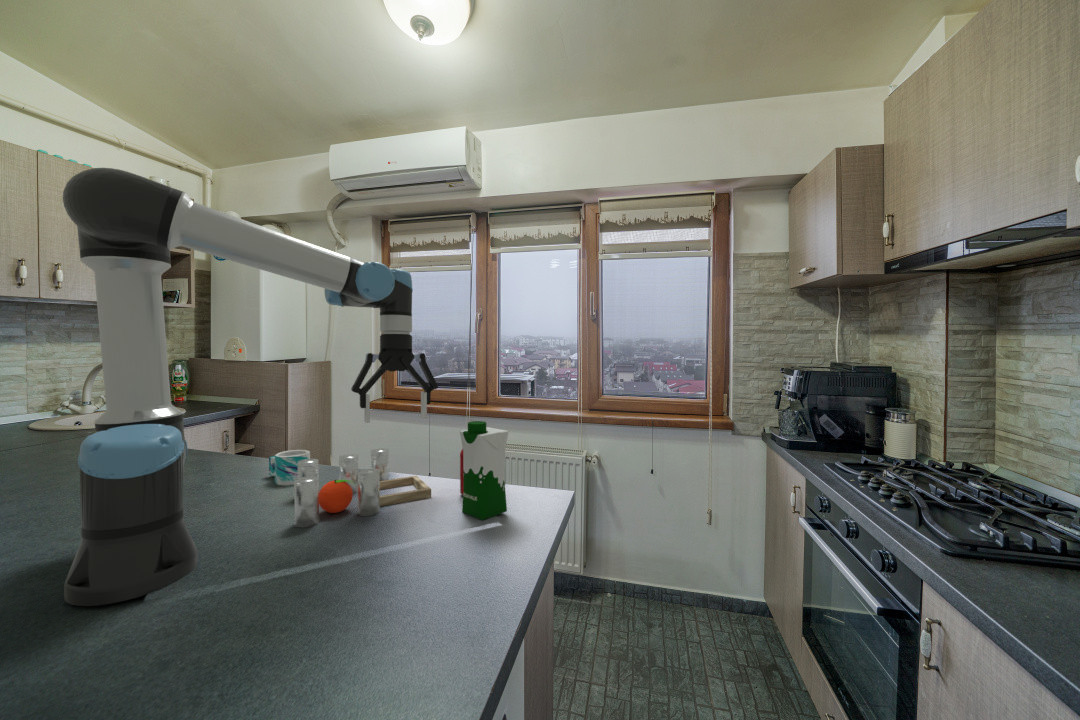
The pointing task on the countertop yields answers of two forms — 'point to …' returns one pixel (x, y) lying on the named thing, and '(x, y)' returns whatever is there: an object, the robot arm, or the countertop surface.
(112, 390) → the robot arm
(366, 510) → the spacer field
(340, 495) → the clementine
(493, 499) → the milk carton
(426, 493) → the beech corral
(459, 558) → the countertop surface
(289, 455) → the mug
